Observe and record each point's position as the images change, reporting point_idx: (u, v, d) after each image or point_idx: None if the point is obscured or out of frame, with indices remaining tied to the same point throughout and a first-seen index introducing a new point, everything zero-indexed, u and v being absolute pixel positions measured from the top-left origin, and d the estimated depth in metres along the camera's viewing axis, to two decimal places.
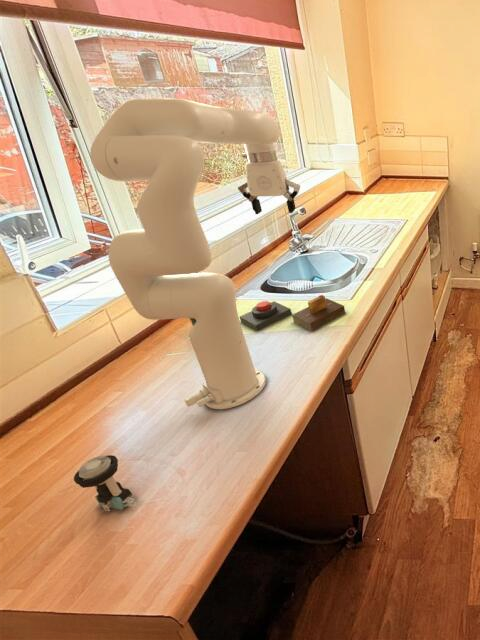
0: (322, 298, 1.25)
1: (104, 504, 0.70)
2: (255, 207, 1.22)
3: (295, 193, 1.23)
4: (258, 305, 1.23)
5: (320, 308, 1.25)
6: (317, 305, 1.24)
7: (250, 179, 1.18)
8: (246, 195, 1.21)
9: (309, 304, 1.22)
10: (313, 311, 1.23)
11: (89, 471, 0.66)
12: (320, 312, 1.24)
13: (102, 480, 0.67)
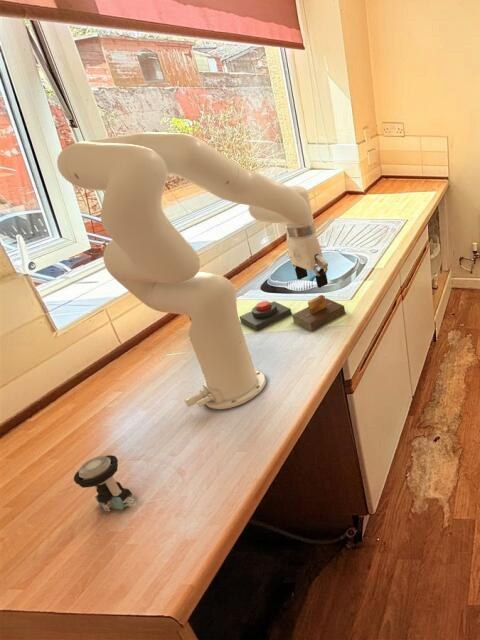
0: (322, 298, 1.25)
1: (104, 504, 0.70)
2: (297, 273, 1.22)
3: (321, 270, 1.16)
4: (258, 305, 1.23)
5: (320, 308, 1.25)
6: (317, 305, 1.24)
7: (289, 249, 1.17)
8: None
9: (309, 304, 1.22)
10: (313, 311, 1.23)
11: (89, 471, 0.66)
12: (320, 312, 1.24)
13: (102, 480, 0.67)
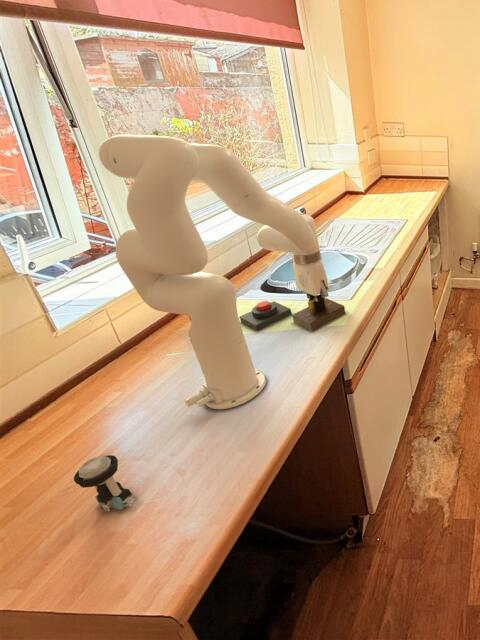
0: None
1: (104, 504, 0.70)
2: None
3: (319, 296, 1.21)
4: (258, 305, 1.23)
5: None
6: None
7: (295, 274, 1.20)
8: None
9: (309, 304, 1.22)
10: (313, 311, 1.23)
11: (89, 471, 0.66)
12: (320, 312, 1.24)
13: (102, 480, 0.67)
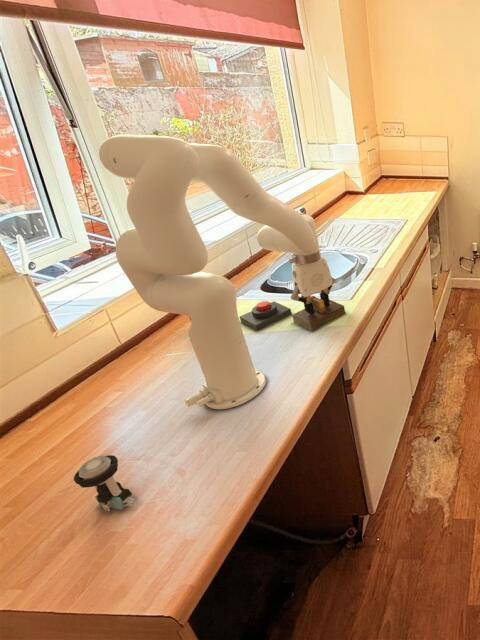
0: None
1: (104, 504, 0.70)
2: (312, 307, 1.22)
3: (330, 286, 1.27)
4: (258, 305, 1.23)
5: None
6: None
7: (305, 281, 1.17)
8: (303, 299, 1.19)
9: (321, 303, 1.23)
10: None
11: (89, 471, 0.66)
12: None
13: (102, 480, 0.67)
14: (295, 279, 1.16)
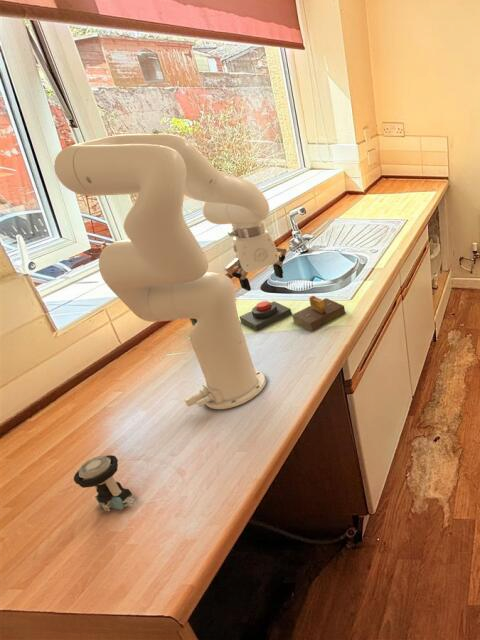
0: None
1: (104, 504, 0.70)
2: (248, 284, 1.16)
3: (284, 257, 1.24)
4: (258, 305, 1.23)
5: None
6: None
7: (246, 255, 1.13)
8: (236, 274, 1.13)
9: (321, 303, 1.23)
10: None
11: (89, 471, 0.66)
12: None
13: (102, 480, 0.67)
14: (236, 253, 1.13)
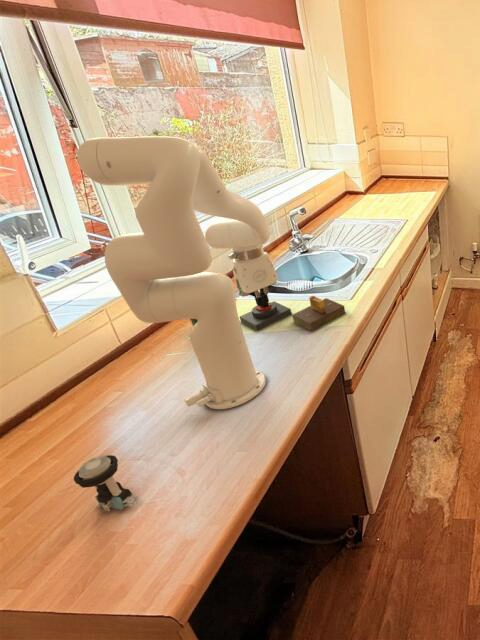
0: None
1: (104, 504, 0.70)
2: (263, 301, 1.23)
3: (270, 285, 1.24)
4: (259, 307, 1.24)
5: None
6: None
7: (246, 277, 1.15)
8: (253, 293, 1.20)
9: (321, 303, 1.23)
10: None
11: (89, 471, 0.66)
12: None
13: (102, 480, 0.67)
14: (236, 275, 1.15)
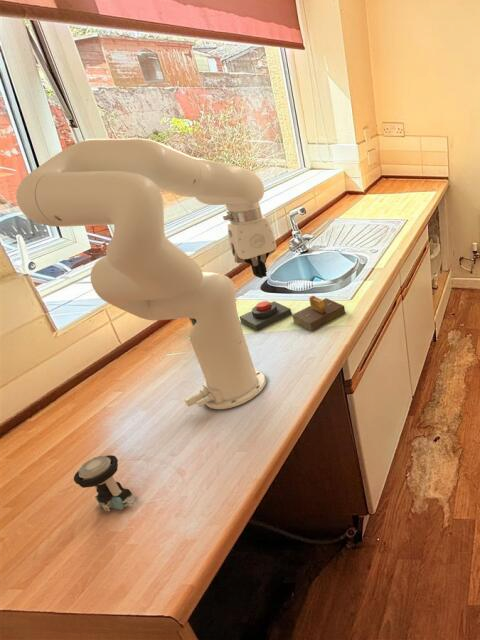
0: None
1: (104, 504, 0.70)
2: (261, 270, 1.13)
3: (268, 253, 1.14)
4: (258, 305, 1.23)
5: None
6: None
7: (242, 241, 1.06)
8: (249, 260, 1.10)
9: (321, 303, 1.23)
10: None
11: (89, 471, 0.66)
12: None
13: (102, 480, 0.67)
14: (231, 239, 1.06)
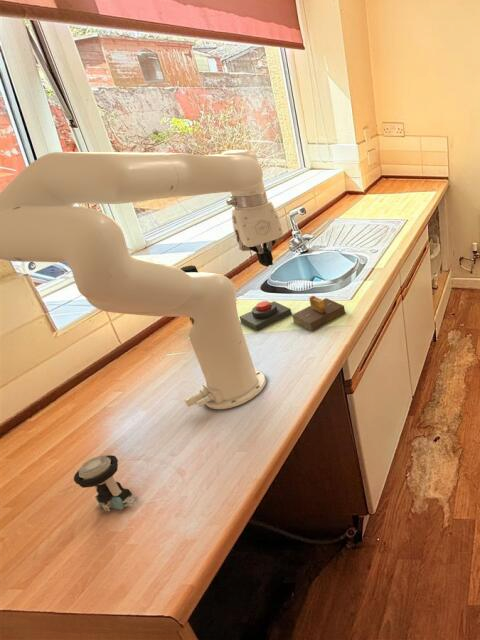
0: None
1: (104, 504, 0.70)
2: (267, 258, 1.07)
3: (274, 241, 1.09)
4: (258, 305, 1.23)
5: None
6: None
7: (247, 227, 1.00)
8: (255, 248, 1.05)
9: (321, 303, 1.23)
10: None
11: (89, 471, 0.66)
12: None
13: (102, 480, 0.67)
14: (235, 225, 1.00)
